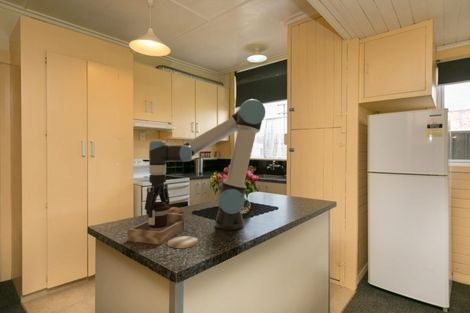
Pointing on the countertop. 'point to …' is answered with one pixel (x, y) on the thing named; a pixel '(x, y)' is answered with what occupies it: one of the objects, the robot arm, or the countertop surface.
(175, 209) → the bread roll
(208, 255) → the countertop surface
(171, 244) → the disc
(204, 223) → the countertop surface
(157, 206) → the coffee cup
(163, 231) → the open wooden box
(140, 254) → the countertop surface
